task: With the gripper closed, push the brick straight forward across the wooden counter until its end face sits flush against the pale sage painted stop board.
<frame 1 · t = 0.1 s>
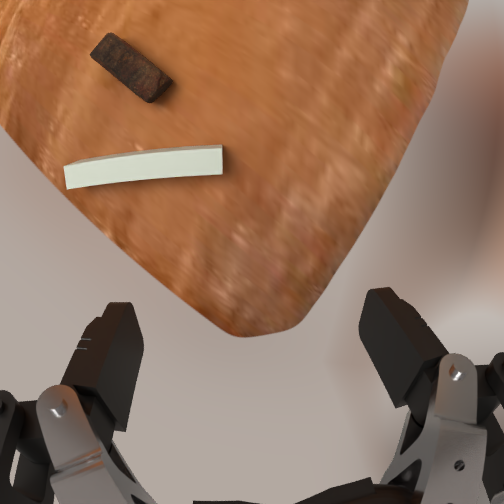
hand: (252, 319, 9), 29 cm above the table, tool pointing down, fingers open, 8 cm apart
stop board: (145, 161, 34), on the table
brick: (137, 69, 28), on the table
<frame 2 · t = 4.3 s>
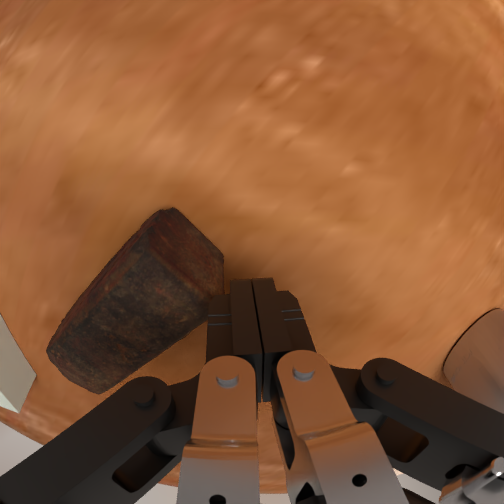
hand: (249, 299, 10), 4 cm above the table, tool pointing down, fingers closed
brick: (132, 285, 15), on the table, touching gripper
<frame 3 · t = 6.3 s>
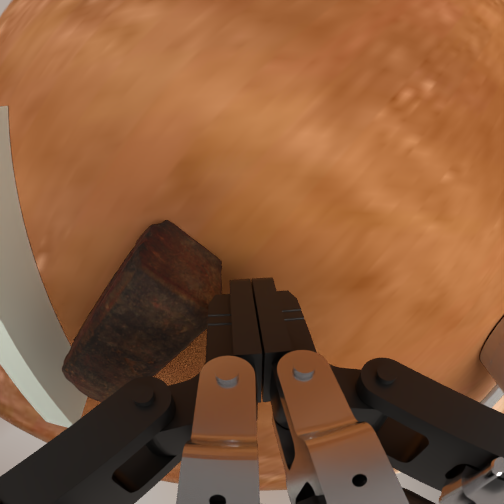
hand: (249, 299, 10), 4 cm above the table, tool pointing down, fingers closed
stop board: (23, 275, 13), on the table
brick: (137, 299, 15), on the table
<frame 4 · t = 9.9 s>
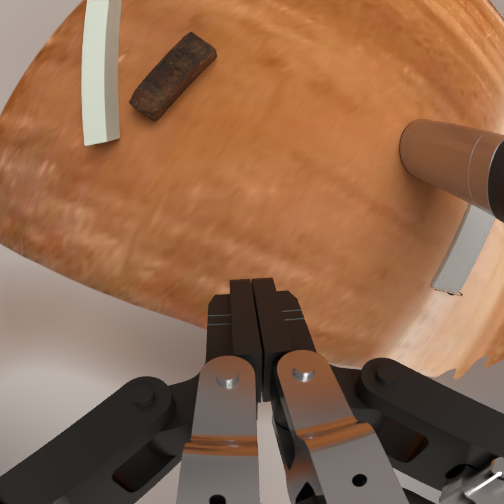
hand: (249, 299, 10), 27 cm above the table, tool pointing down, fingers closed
stop board: (107, 67, 26), on the table
brick: (176, 79, 29), on the table
baseboard molding: (477, 220, 42), on the table
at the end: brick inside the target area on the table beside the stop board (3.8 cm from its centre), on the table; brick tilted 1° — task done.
